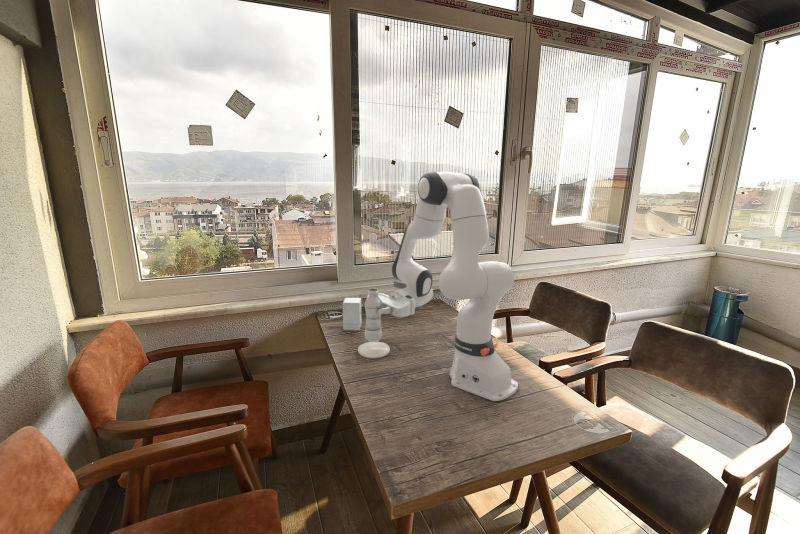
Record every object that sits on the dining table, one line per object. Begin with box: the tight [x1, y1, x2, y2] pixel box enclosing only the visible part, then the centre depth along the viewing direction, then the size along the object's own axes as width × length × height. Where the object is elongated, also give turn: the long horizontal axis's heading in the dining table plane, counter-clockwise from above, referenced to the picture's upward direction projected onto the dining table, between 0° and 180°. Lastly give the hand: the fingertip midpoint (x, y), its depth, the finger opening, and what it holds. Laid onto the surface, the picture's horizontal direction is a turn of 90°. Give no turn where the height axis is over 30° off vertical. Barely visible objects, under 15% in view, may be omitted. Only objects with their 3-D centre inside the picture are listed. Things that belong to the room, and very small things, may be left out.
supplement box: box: [342, 297, 362, 331], centre depth 163 cm, size 7×7×13 cm
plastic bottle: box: [364, 288, 383, 342], centre depth 140 cm, size 6×7×20 cm
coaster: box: [357, 341, 391, 359], centre depth 143 cm, size 12×12×1 cm
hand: (371, 309), depth 138 cm, fingers closed on plastic bottle, 6 cm apart
